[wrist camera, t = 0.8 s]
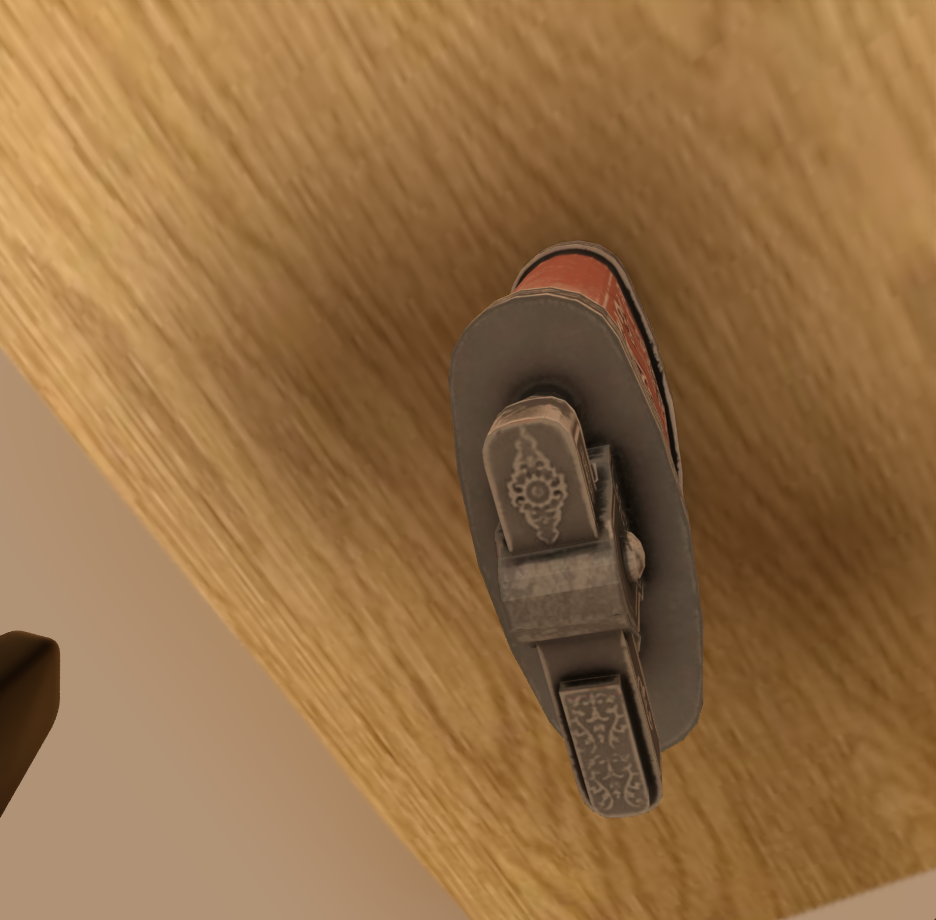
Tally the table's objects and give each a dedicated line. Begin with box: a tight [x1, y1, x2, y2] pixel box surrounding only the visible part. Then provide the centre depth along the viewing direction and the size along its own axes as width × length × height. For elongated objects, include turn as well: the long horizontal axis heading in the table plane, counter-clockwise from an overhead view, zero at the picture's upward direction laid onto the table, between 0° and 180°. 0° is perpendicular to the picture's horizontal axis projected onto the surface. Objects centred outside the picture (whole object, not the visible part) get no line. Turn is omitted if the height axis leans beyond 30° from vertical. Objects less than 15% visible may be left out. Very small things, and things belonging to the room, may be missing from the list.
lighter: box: [448, 240, 703, 818], centre depth 16 cm, size 8×3×10 cm, turn 16°
